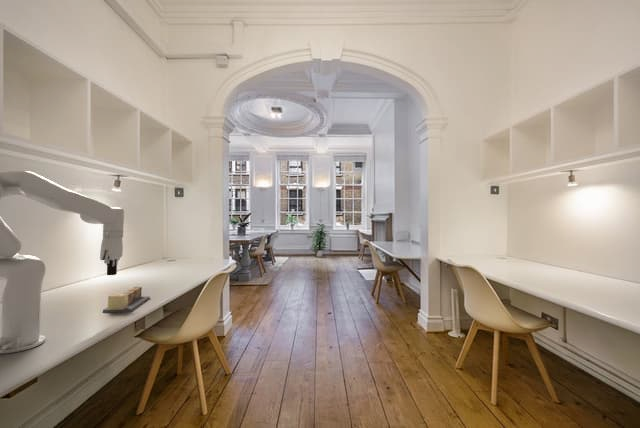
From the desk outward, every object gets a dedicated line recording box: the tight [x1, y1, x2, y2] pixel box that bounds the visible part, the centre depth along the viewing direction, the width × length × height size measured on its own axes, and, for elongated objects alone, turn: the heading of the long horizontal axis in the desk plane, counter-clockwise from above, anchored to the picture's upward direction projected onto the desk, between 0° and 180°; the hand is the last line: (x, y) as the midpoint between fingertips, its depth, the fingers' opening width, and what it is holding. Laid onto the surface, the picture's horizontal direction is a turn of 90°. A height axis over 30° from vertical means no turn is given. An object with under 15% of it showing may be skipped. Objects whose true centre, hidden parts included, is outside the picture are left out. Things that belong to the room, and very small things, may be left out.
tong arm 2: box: [127, 286, 143, 304], centre depth 150 cm, size 15×2×5 cm, turn 10°
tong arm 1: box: [122, 286, 139, 294], centre depth 149 cm, size 15×2×5 cm, turn 10°
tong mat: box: [102, 295, 151, 314], centre depth 146 cm, size 22×12×1 cm, turn 10°
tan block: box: [107, 293, 128, 310], centre depth 136 cm, size 4×7×6 cm, turn 100°
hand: (111, 274), depth 130 cm, fingers closed
